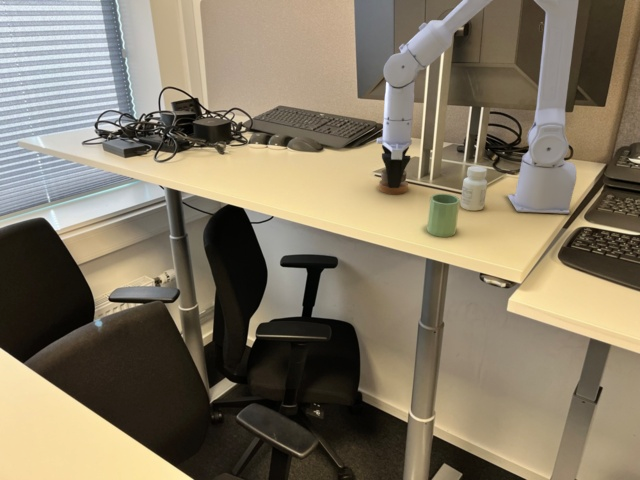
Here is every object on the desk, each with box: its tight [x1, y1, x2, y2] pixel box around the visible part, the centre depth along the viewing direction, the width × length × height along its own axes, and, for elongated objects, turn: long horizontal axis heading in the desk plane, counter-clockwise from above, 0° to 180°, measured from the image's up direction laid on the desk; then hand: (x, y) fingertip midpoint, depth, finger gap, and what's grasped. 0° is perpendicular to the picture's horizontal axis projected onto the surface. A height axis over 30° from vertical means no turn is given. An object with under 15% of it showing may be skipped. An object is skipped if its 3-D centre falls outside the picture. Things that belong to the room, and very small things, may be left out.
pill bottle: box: [459, 165, 488, 212], centre depth 89 cm, size 4×4×8 cm
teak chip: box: [378, 179, 409, 195], centre depth 99 cm, size 6×6×2 cm
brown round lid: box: [380, 168, 407, 182], centre depth 98 cm, size 5×5×2 cm
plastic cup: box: [426, 193, 461, 238], centre depth 80 cm, size 5×5×6 cm
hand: (393, 182), depth 99 cm, fingers closed on brown round lid, 5 cm apart
